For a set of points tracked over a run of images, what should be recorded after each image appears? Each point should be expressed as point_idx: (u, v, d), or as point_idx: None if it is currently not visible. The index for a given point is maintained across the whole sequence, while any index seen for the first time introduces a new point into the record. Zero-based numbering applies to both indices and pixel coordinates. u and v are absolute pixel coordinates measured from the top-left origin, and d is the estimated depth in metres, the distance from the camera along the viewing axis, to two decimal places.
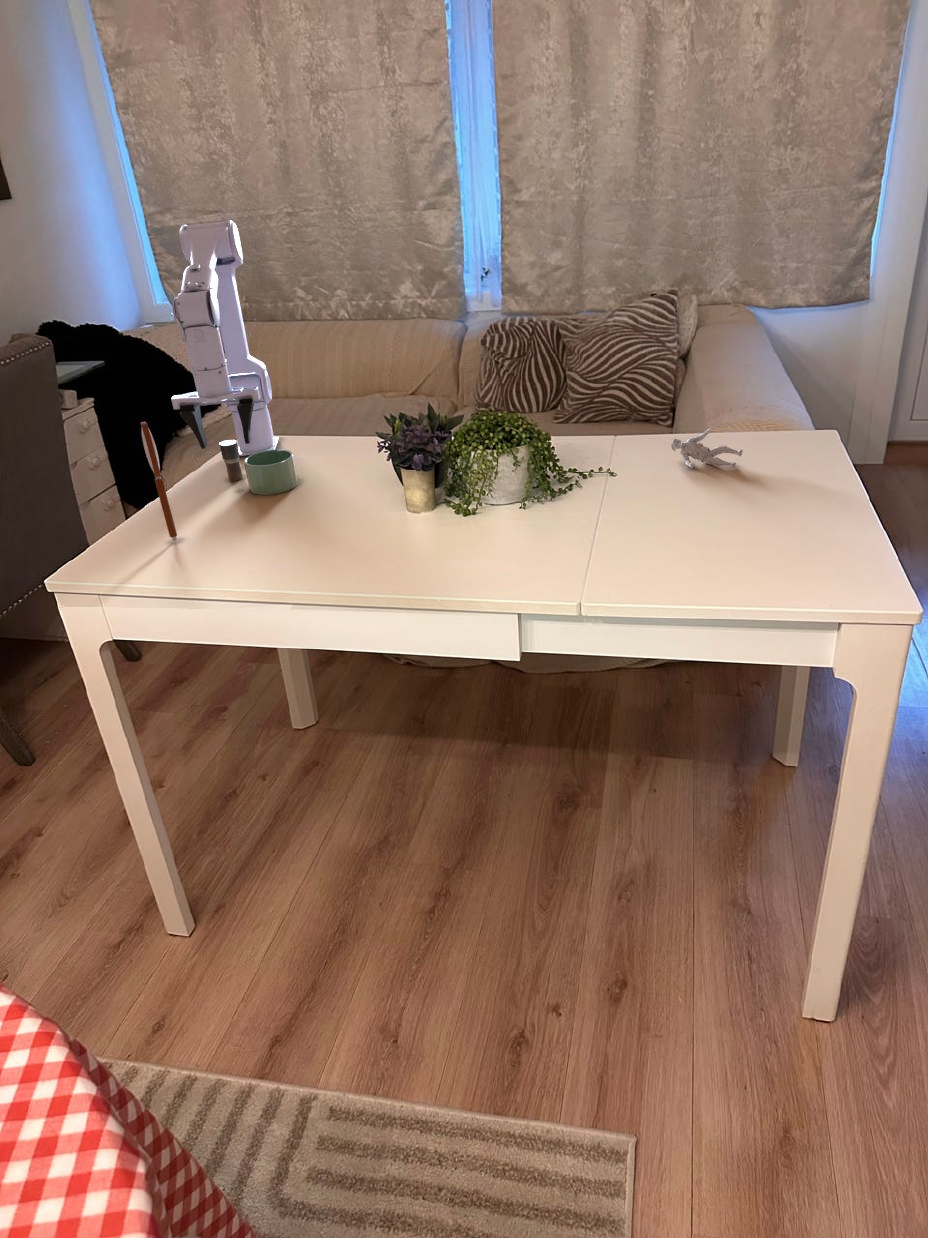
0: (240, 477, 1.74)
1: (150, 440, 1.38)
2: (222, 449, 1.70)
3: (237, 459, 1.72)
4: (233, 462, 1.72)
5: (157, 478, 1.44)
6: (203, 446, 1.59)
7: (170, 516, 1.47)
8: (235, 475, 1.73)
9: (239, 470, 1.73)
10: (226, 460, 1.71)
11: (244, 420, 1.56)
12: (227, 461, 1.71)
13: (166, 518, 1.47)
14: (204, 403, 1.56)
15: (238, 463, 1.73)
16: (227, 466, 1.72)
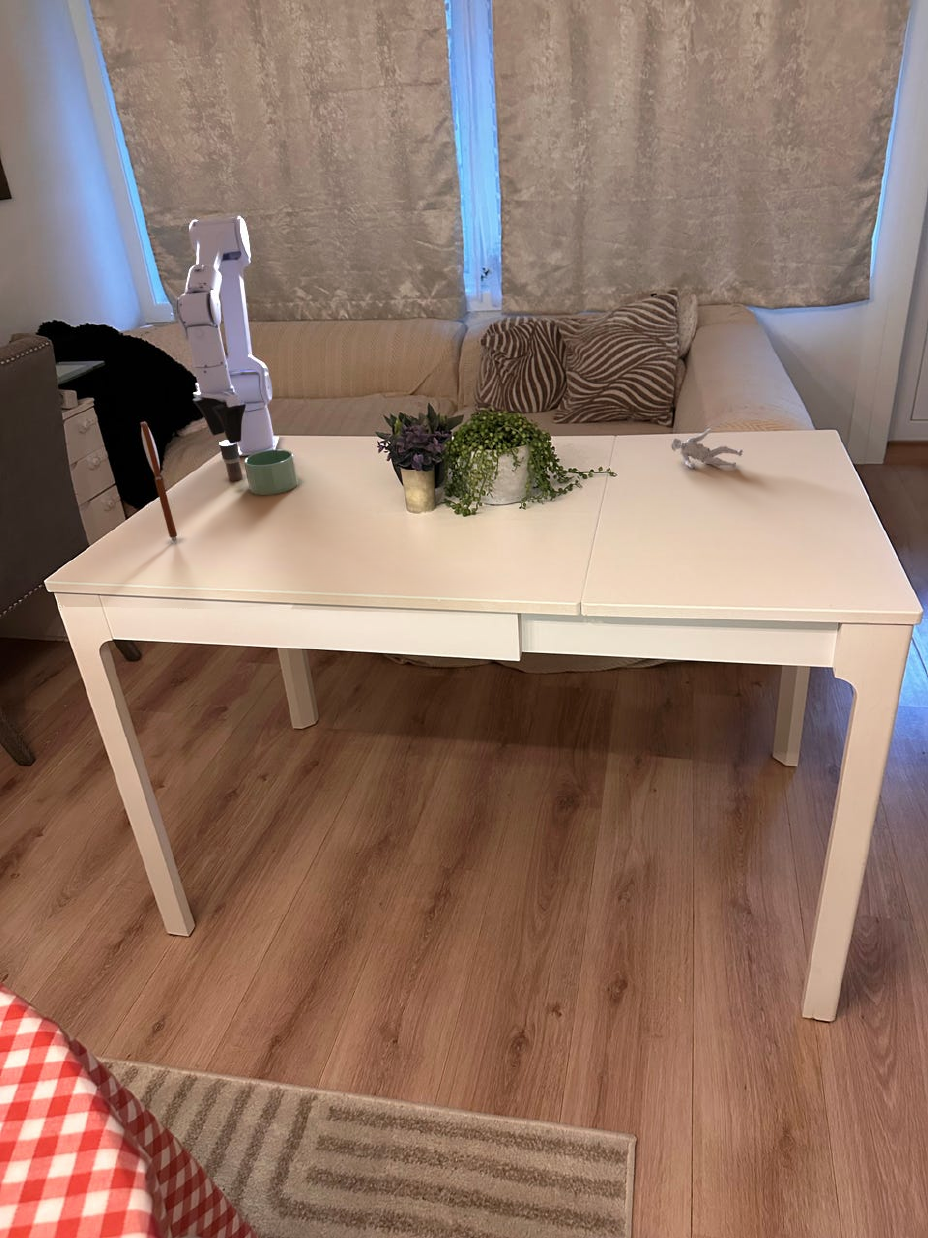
0: (240, 477, 1.74)
1: (150, 440, 1.38)
2: (222, 449, 1.70)
3: (237, 459, 1.72)
4: (233, 462, 1.72)
5: (157, 478, 1.44)
6: (212, 433, 1.70)
7: (170, 516, 1.47)
8: (235, 475, 1.73)
9: (239, 470, 1.73)
10: (226, 460, 1.71)
11: (221, 421, 1.62)
12: (227, 461, 1.71)
13: (166, 518, 1.47)
14: None
15: (238, 463, 1.73)
16: (227, 466, 1.72)
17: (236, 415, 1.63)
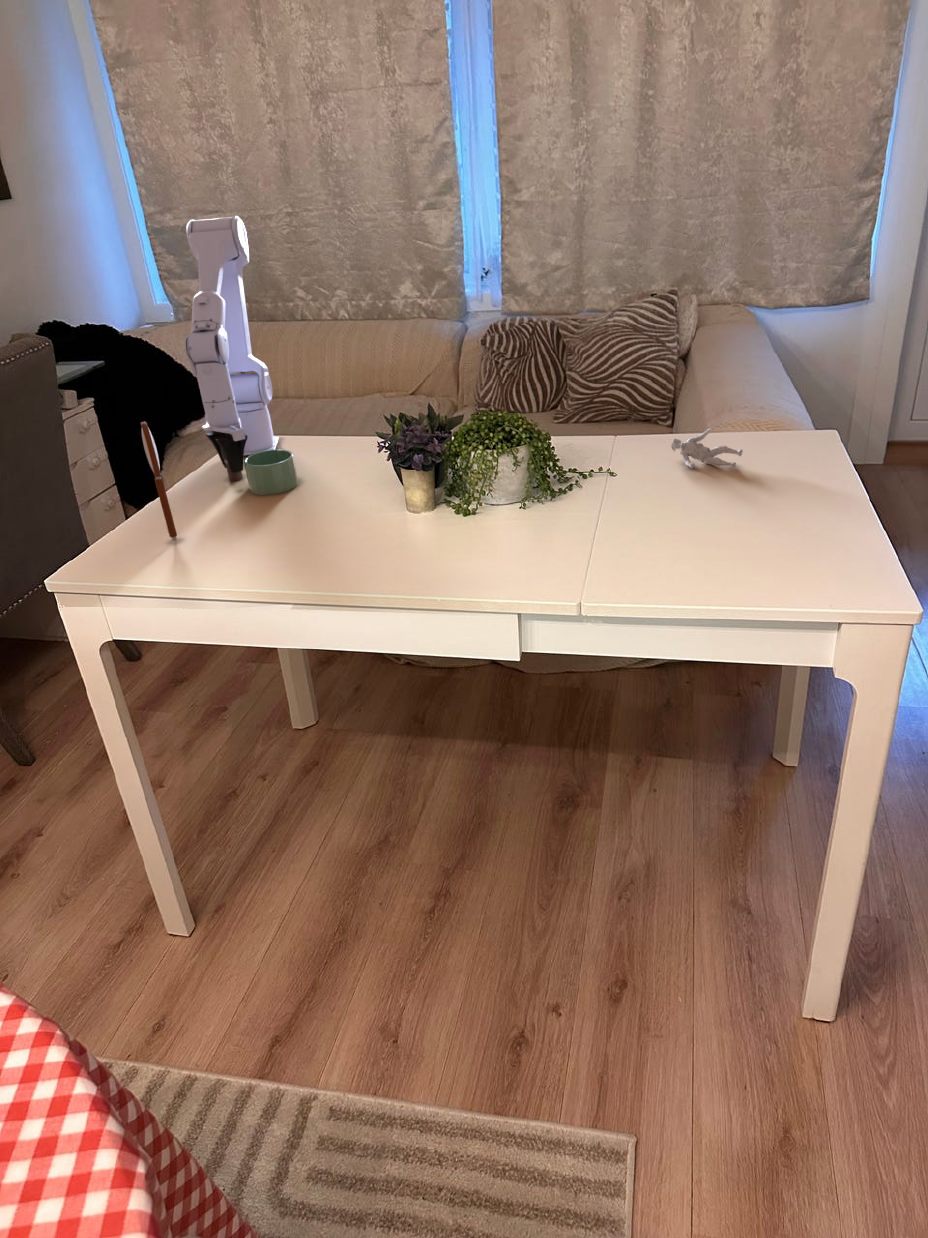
0: (240, 477, 1.74)
1: (150, 440, 1.38)
2: None
3: None
4: None
5: (157, 478, 1.44)
6: (224, 466, 1.74)
7: (170, 516, 1.47)
8: (235, 475, 1.73)
9: None
10: (226, 460, 1.71)
11: (224, 452, 1.69)
12: None
13: (166, 518, 1.47)
14: None
15: None
16: (227, 466, 1.72)
17: (238, 446, 1.70)
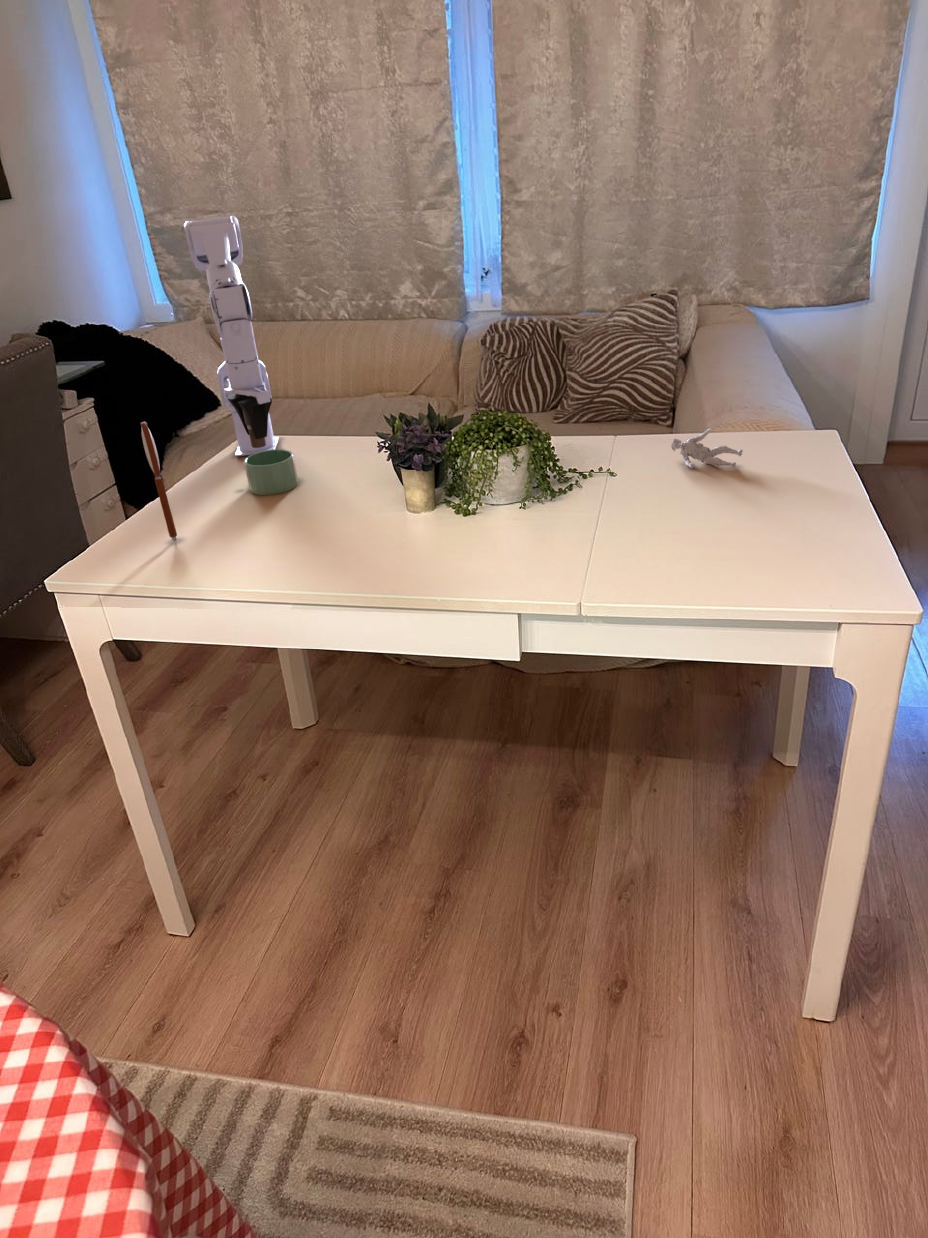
0: (263, 444, 1.65)
1: (150, 440, 1.38)
2: None
3: None
4: None
5: (157, 478, 1.44)
6: (247, 433, 1.66)
7: (170, 516, 1.47)
8: (258, 442, 1.65)
9: None
10: (249, 426, 1.63)
11: (247, 416, 1.61)
12: (250, 427, 1.63)
13: (166, 518, 1.47)
14: None
15: None
16: (250, 432, 1.64)
17: (262, 410, 1.62)
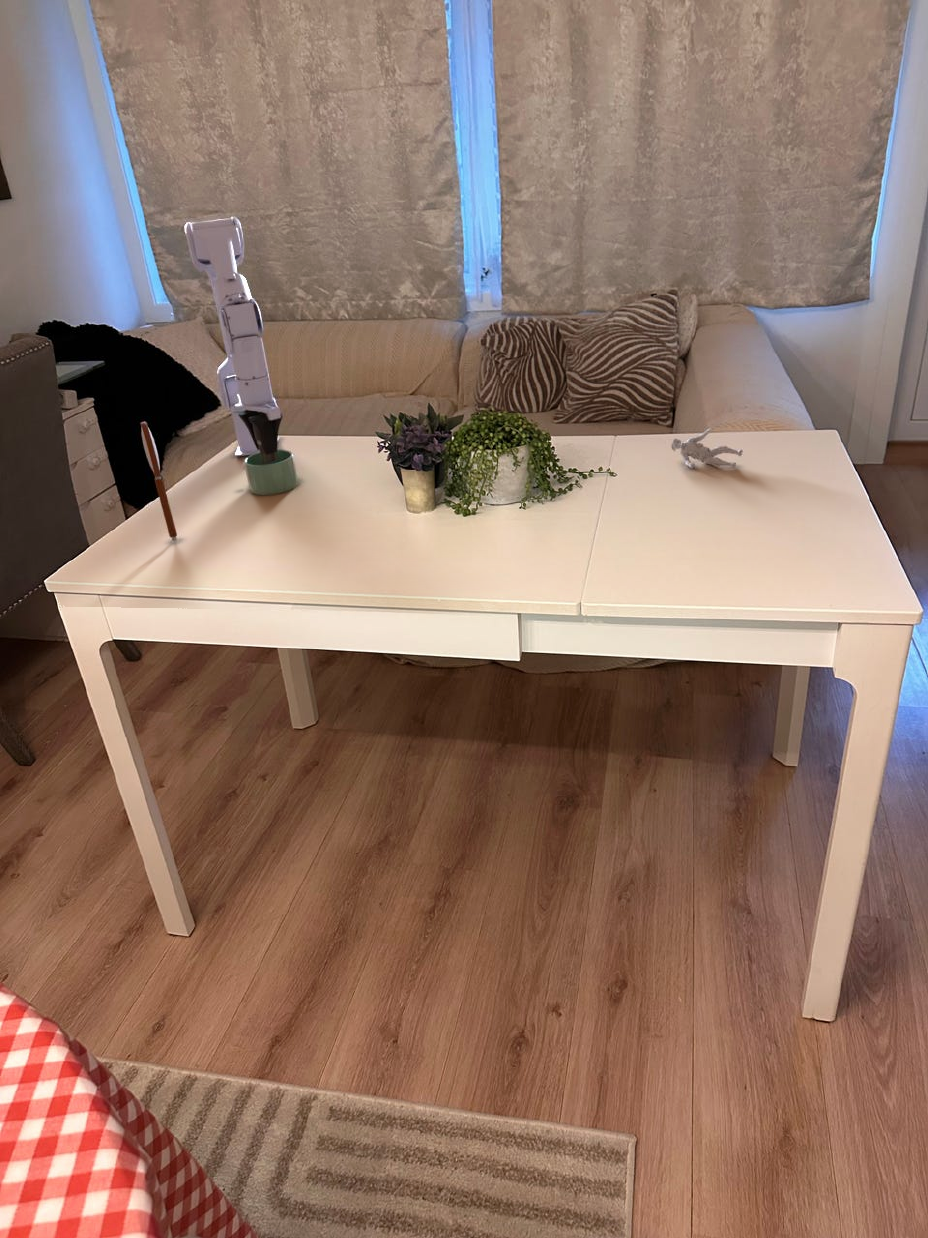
0: (273, 459, 1.66)
1: (150, 440, 1.38)
2: None
3: None
4: None
5: (157, 478, 1.44)
6: (257, 448, 1.66)
7: (170, 516, 1.47)
8: (268, 457, 1.65)
9: None
10: (259, 441, 1.63)
11: (257, 432, 1.61)
12: (260, 442, 1.64)
13: (166, 518, 1.47)
14: None
15: None
16: (260, 447, 1.64)
17: (272, 426, 1.62)
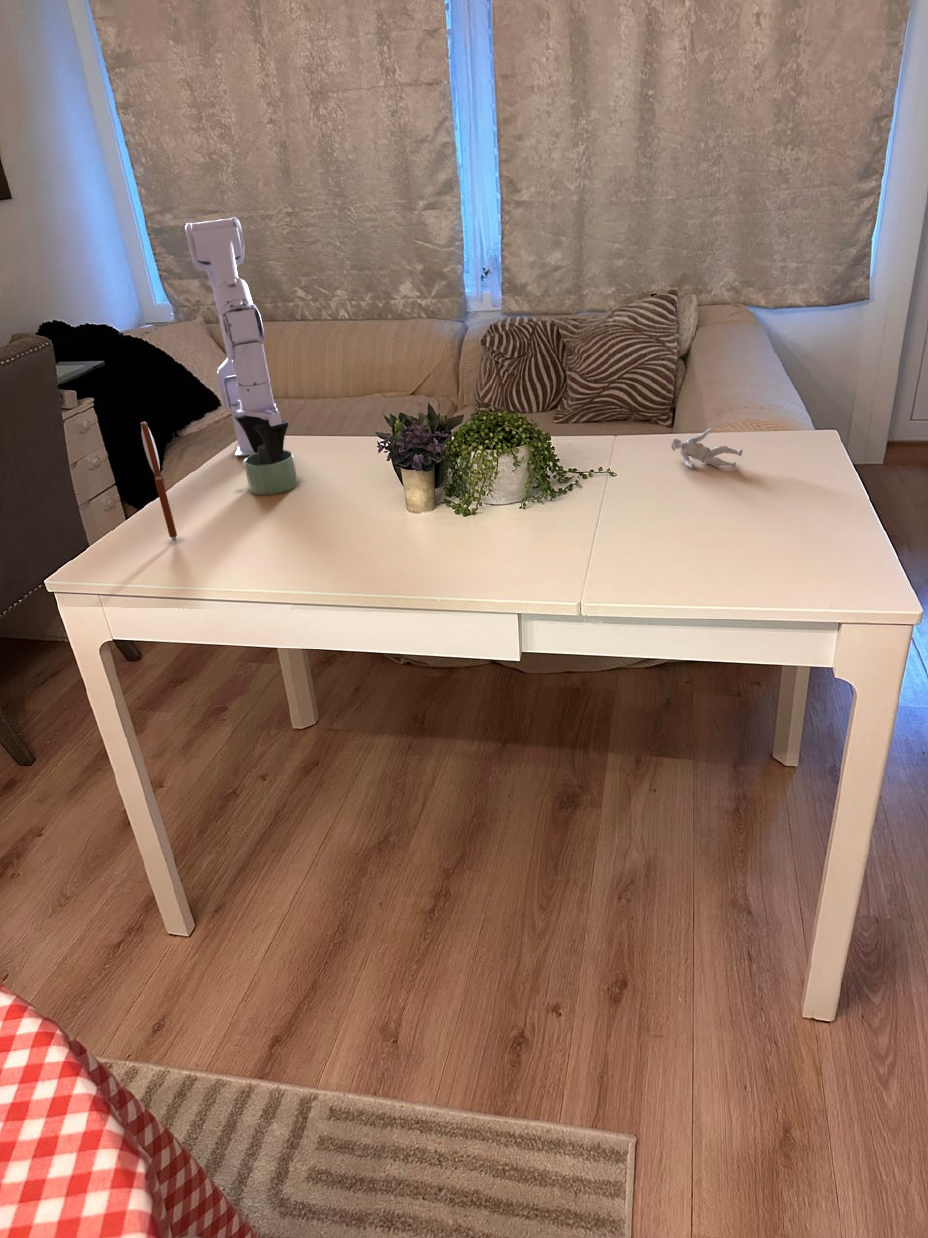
0: None
1: (150, 440, 1.38)
2: (260, 453, 1.65)
3: None
4: None
5: (157, 478, 1.44)
6: (254, 451, 1.68)
7: (170, 516, 1.47)
8: None
9: None
10: (264, 464, 1.66)
11: (263, 440, 1.60)
12: None
13: (166, 518, 1.47)
14: None
15: None
16: None
17: (278, 434, 1.61)
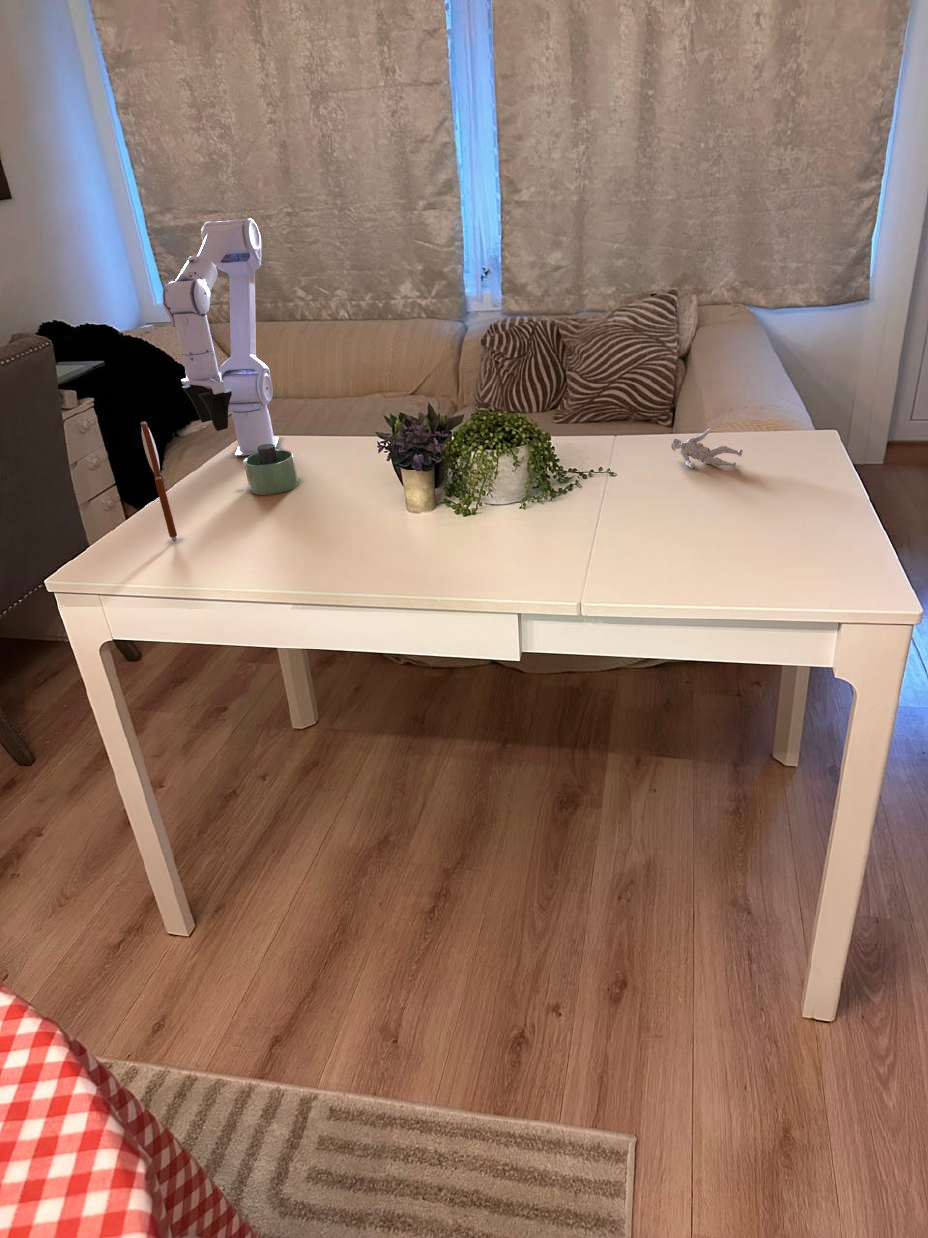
0: None
1: (150, 440, 1.38)
2: (260, 453, 1.65)
3: None
4: None
5: (157, 478, 1.44)
6: (201, 420, 1.72)
7: (170, 516, 1.47)
8: None
9: None
10: (264, 464, 1.66)
11: (207, 408, 1.64)
12: None
13: (166, 518, 1.47)
14: None
15: None
16: None
17: (222, 402, 1.65)
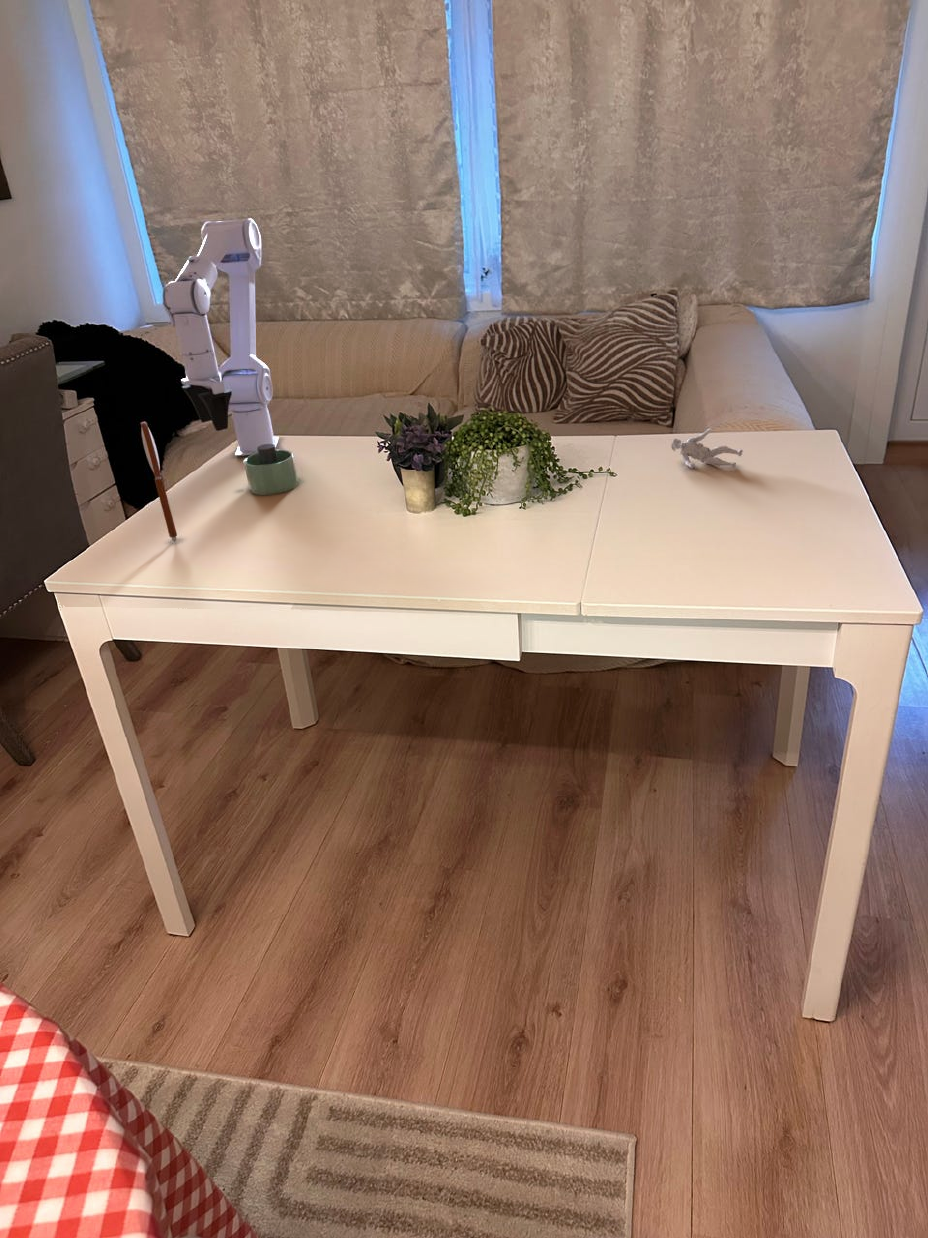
0: None
1: (150, 440, 1.38)
2: (260, 453, 1.65)
3: None
4: None
5: (157, 478, 1.44)
6: (201, 420, 1.72)
7: (170, 516, 1.47)
8: None
9: None
10: (264, 464, 1.66)
11: (207, 408, 1.64)
12: None
13: (166, 518, 1.47)
14: None
15: None
16: None
17: (222, 402, 1.65)
